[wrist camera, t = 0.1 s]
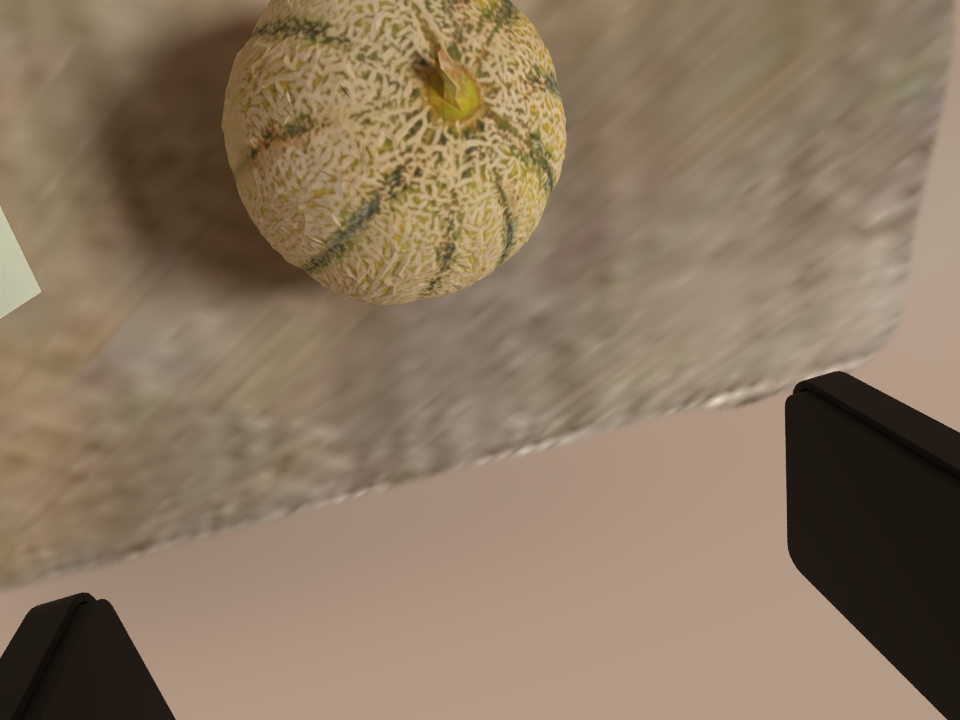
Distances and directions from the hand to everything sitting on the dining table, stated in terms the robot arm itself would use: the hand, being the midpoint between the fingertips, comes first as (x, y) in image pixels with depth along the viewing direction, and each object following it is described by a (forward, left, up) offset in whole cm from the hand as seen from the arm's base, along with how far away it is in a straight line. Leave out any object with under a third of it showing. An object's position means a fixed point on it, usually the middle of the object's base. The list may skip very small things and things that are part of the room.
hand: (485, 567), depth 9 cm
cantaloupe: (-4, +2, -31) cm, 32 cm away
